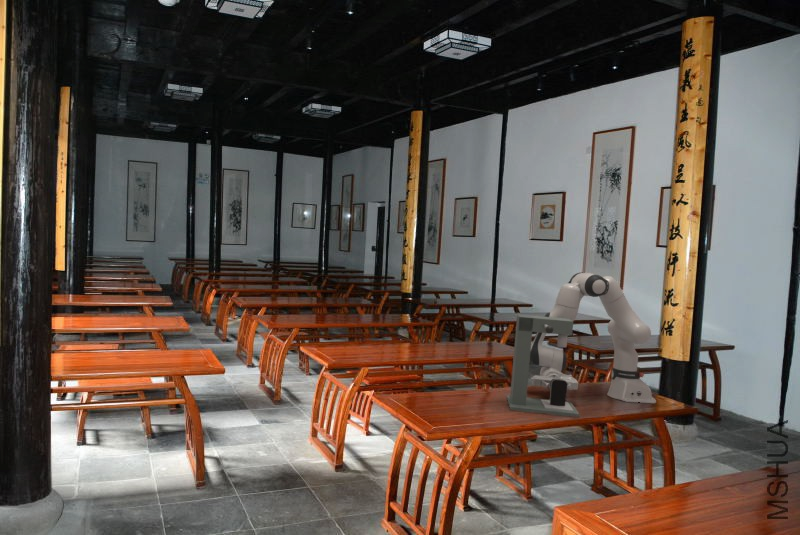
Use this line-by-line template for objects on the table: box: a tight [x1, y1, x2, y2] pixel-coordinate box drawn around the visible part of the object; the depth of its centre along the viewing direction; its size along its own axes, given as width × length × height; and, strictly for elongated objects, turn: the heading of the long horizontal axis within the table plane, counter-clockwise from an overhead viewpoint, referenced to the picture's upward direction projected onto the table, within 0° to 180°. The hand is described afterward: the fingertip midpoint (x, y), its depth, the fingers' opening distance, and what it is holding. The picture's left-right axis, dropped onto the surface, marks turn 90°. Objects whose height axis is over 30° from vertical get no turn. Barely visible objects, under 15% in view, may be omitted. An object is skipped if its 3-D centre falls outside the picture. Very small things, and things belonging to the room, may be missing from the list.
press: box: [506, 313, 580, 418], centre depth 257 cm, size 29×28×40 cm
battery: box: [549, 379, 568, 406], centre depth 260 cm, size 7×4×11 cm, turn 89°
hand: (557, 386), depth 263 cm, fingers open, 8 cm apart
